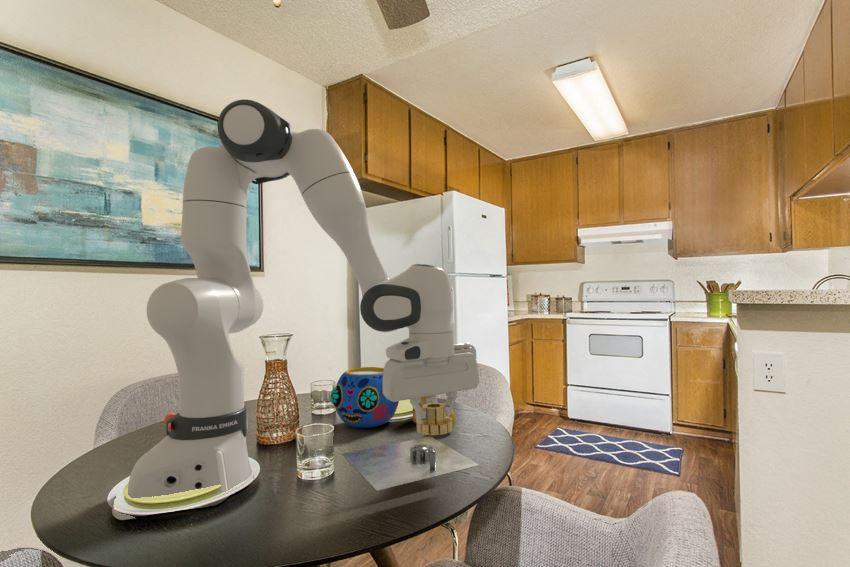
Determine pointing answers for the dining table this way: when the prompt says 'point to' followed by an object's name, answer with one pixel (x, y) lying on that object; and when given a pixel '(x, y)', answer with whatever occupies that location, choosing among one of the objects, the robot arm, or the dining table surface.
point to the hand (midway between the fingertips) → (434, 417)
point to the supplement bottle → (424, 401)
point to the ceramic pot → (362, 398)
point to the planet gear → (435, 420)
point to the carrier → (406, 462)
